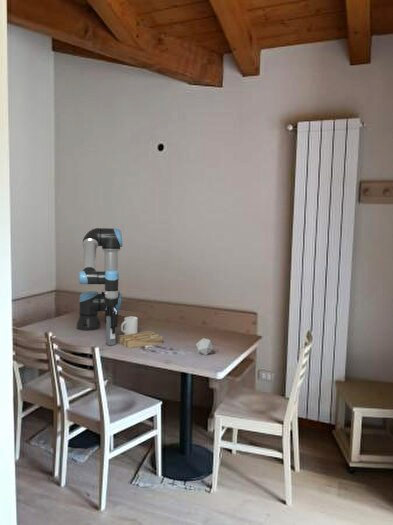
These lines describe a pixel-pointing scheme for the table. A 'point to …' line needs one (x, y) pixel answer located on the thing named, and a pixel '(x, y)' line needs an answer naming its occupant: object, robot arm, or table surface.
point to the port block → (140, 339)
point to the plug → (108, 325)
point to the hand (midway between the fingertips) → (110, 337)
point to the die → (204, 346)
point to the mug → (130, 325)
